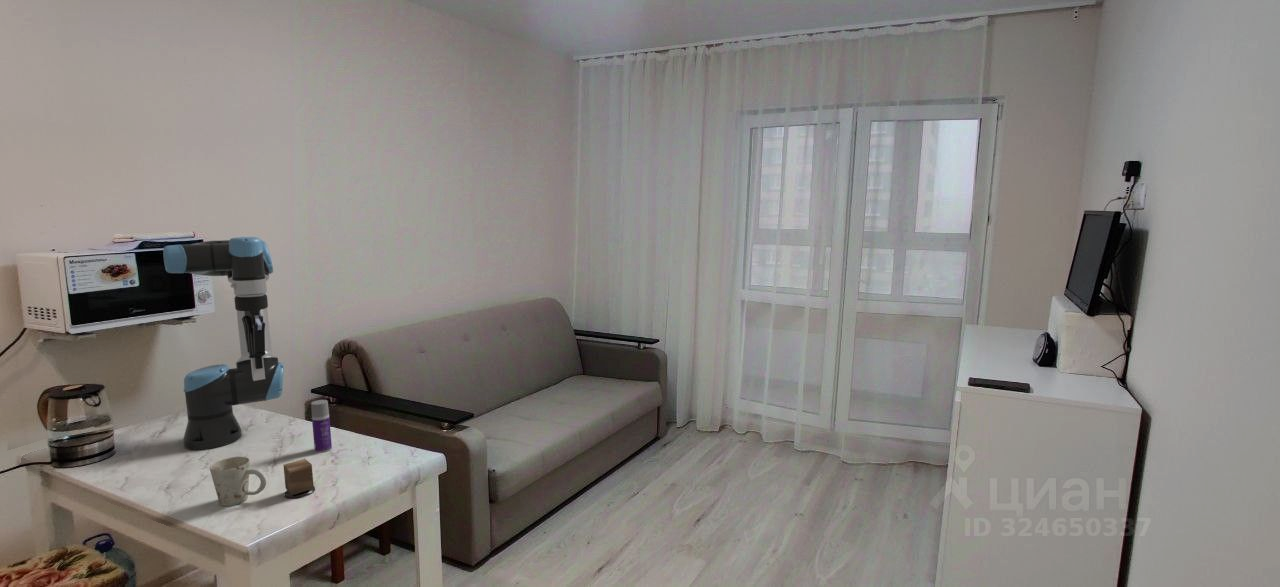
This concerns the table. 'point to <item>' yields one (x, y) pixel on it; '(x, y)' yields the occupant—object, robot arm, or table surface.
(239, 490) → the mug
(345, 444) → the table surface
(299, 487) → the brown shipping carton
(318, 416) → the container
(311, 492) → the post
